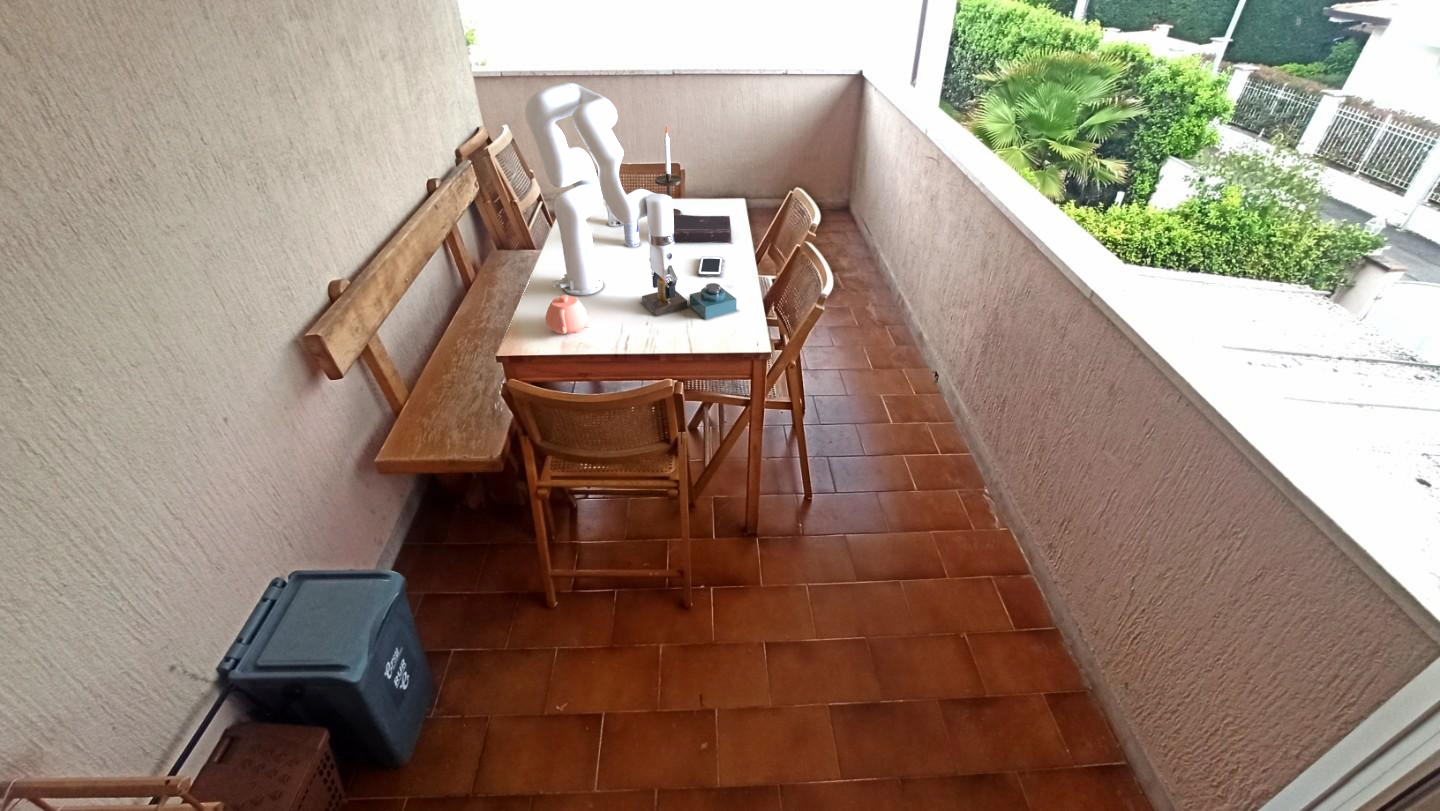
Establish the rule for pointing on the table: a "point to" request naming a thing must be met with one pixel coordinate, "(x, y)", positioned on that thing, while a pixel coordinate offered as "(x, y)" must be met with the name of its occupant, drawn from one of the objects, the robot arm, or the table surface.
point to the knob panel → (664, 303)
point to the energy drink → (631, 234)
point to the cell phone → (710, 266)
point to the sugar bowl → (566, 315)
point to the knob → (662, 289)
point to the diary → (701, 229)
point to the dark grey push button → (712, 289)
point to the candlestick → (668, 174)
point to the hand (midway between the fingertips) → (664, 292)
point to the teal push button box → (712, 303)
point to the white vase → (612, 219)
